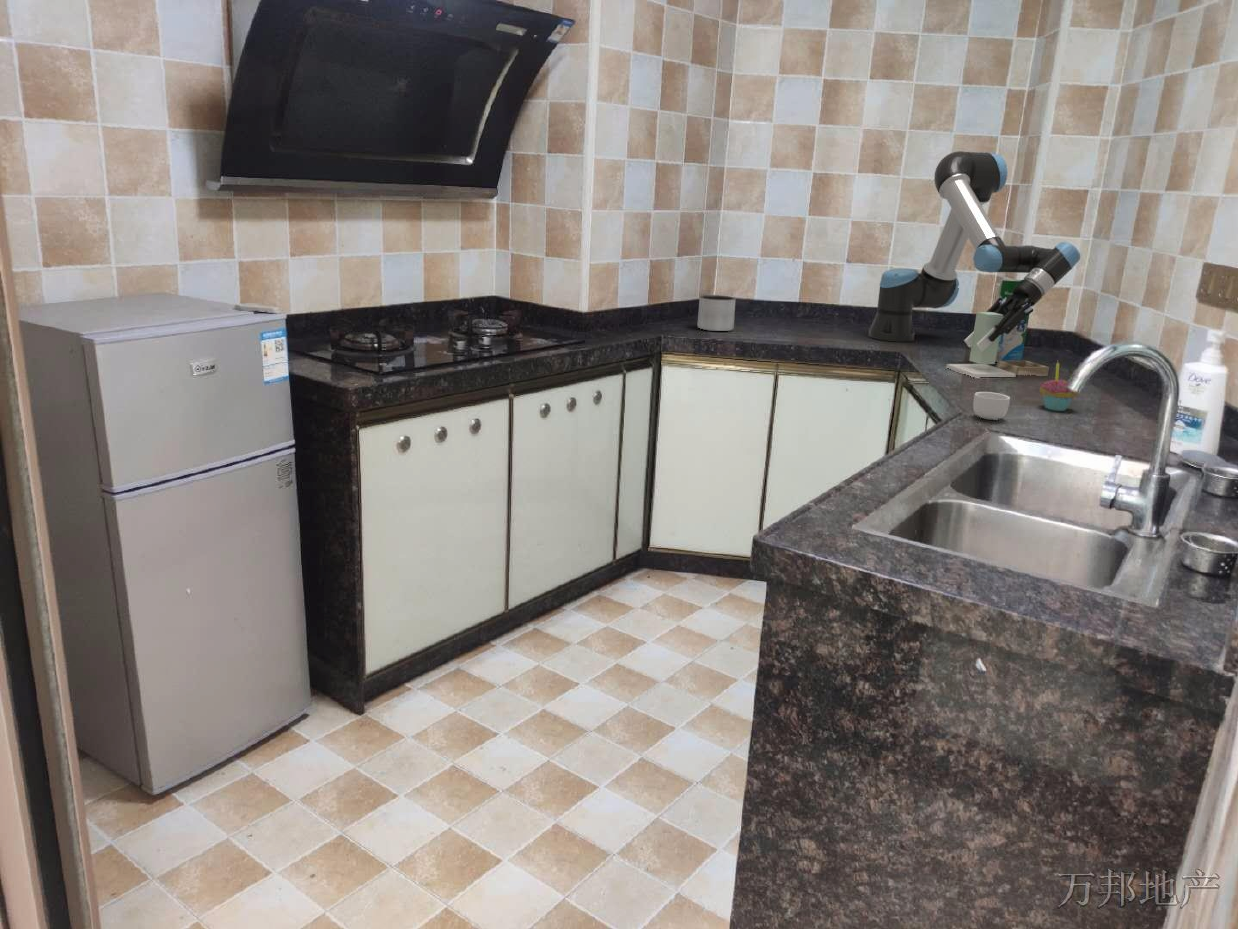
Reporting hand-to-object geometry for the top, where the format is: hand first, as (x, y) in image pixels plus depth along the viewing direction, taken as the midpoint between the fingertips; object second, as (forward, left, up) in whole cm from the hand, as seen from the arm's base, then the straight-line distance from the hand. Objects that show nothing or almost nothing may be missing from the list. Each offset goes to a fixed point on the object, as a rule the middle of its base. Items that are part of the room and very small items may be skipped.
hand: (973, 345), depth 264 cm
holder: (0, +18, -8) cm, 19 cm away
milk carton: (-16, +24, -8) cm, 30 cm away
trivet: (0, +4, -8) cm, 9 cm away
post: (0, +4, -5) cm, 6 cm away
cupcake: (+41, -4, -8) cm, 42 cm away
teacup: (+47, -28, -8) cm, 55 cm away
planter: (-75, -49, -8) cm, 90 cm away
